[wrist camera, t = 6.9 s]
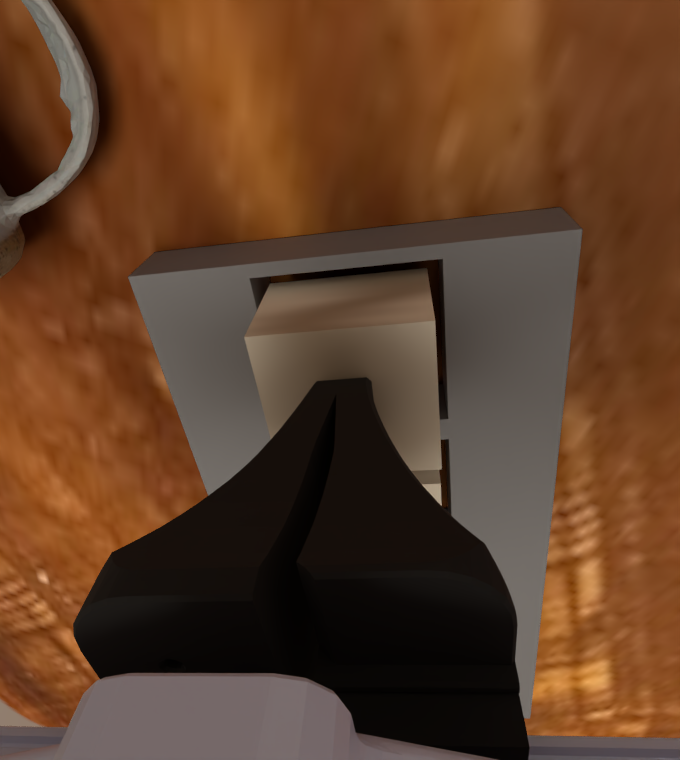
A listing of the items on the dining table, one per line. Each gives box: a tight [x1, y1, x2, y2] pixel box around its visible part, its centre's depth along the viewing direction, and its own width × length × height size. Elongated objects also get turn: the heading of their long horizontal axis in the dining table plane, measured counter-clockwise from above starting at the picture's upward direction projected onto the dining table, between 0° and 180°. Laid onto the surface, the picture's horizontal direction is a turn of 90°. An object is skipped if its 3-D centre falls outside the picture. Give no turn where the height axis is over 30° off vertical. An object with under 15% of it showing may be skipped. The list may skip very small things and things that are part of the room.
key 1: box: [244, 268, 442, 471], centre depth 15 cm, size 4×4×3 cm
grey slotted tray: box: [128, 207, 582, 718], centre depth 21 cm, size 12×24×2 cm, turn 8°
